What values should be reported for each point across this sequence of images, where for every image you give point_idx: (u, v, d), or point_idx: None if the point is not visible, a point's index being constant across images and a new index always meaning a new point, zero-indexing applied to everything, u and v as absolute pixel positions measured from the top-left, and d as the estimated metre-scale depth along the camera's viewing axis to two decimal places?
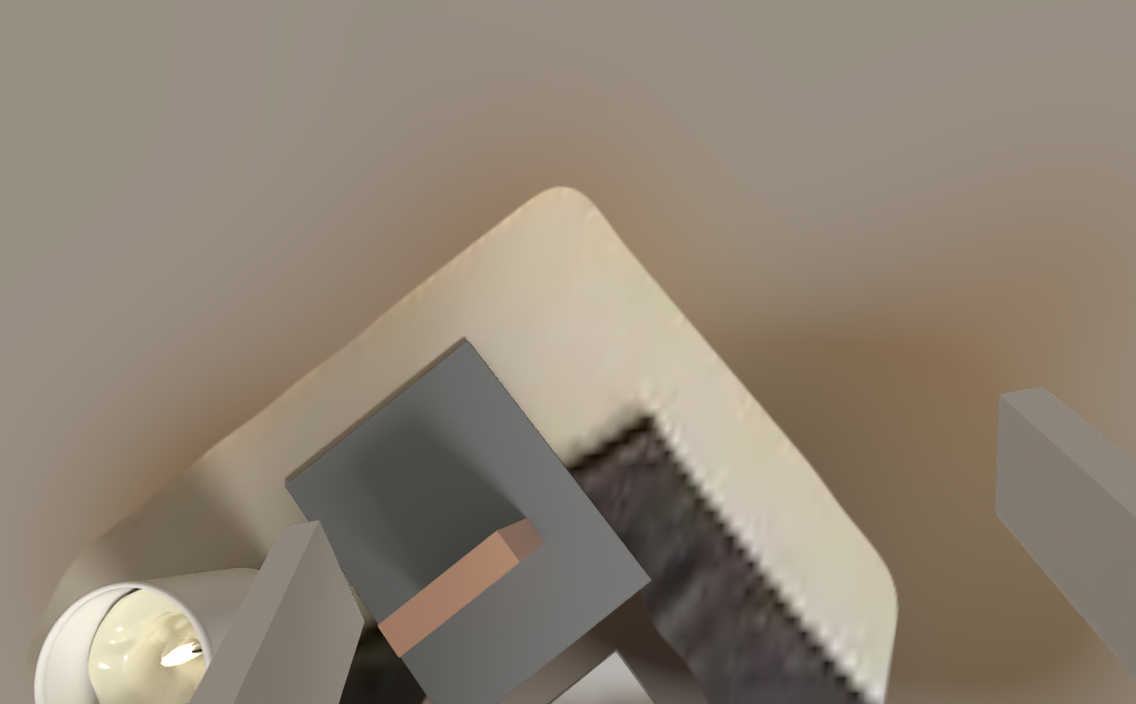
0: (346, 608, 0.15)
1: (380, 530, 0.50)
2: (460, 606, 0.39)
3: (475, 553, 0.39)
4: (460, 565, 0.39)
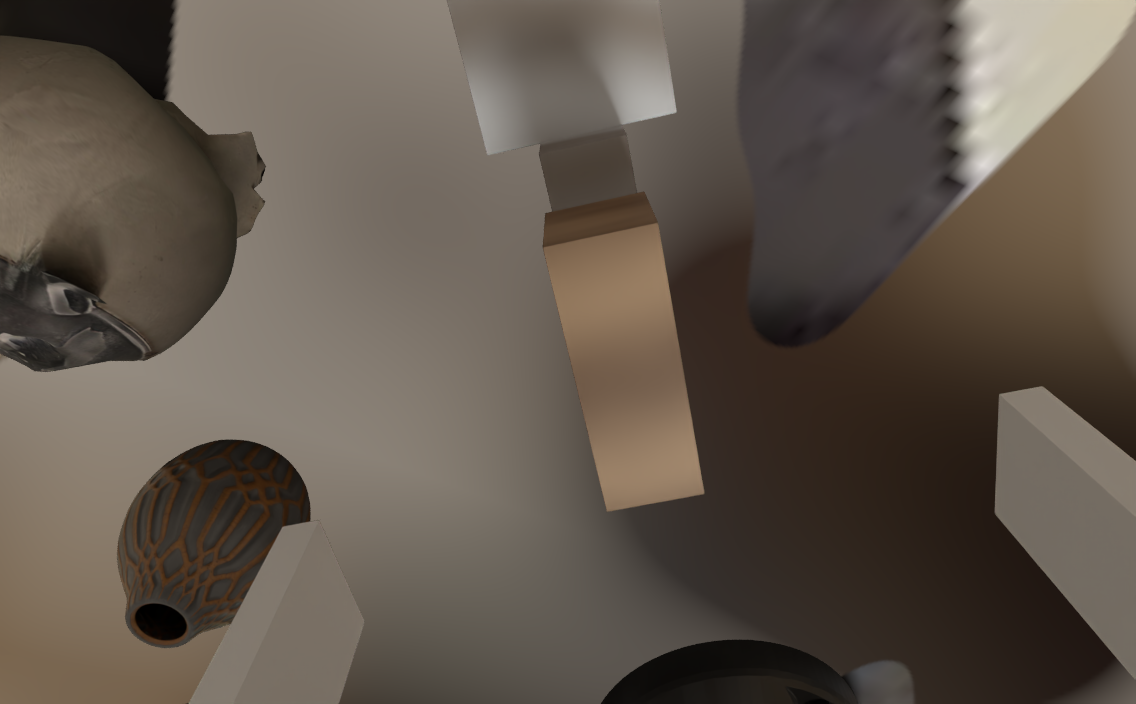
0: (346, 608, 0.15)
1: None
2: None
3: None
4: None
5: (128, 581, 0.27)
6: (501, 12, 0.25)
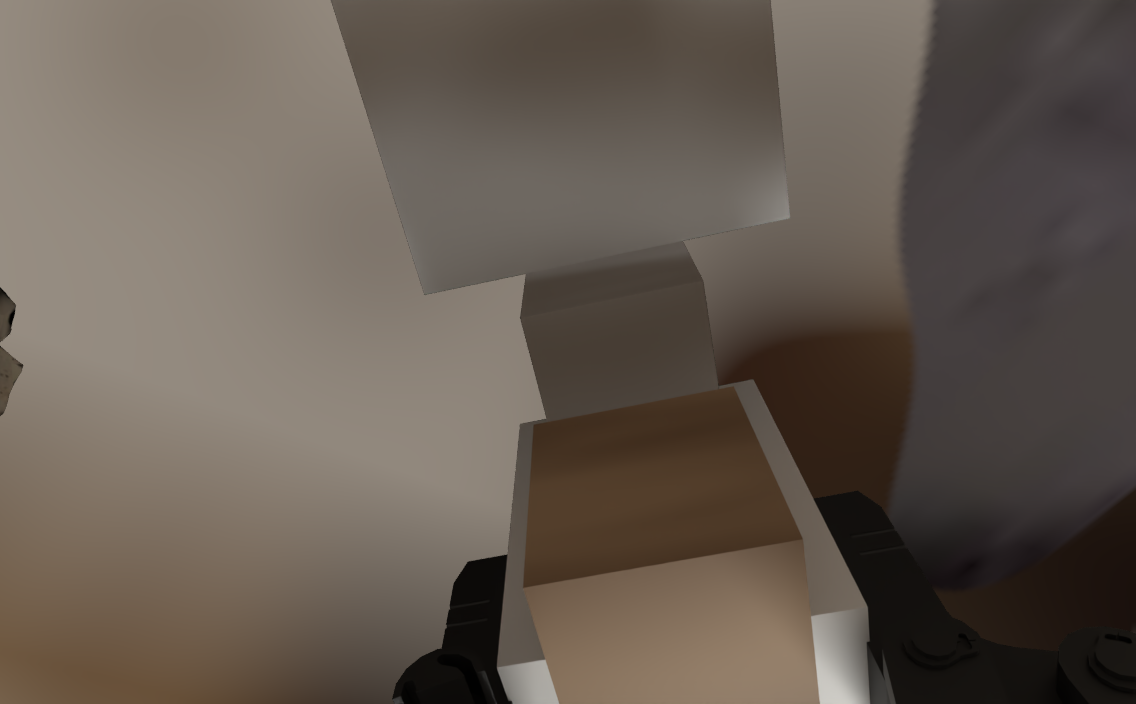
0: None
1: None
2: None
3: None
4: None
5: None
6: (444, 23, 0.12)
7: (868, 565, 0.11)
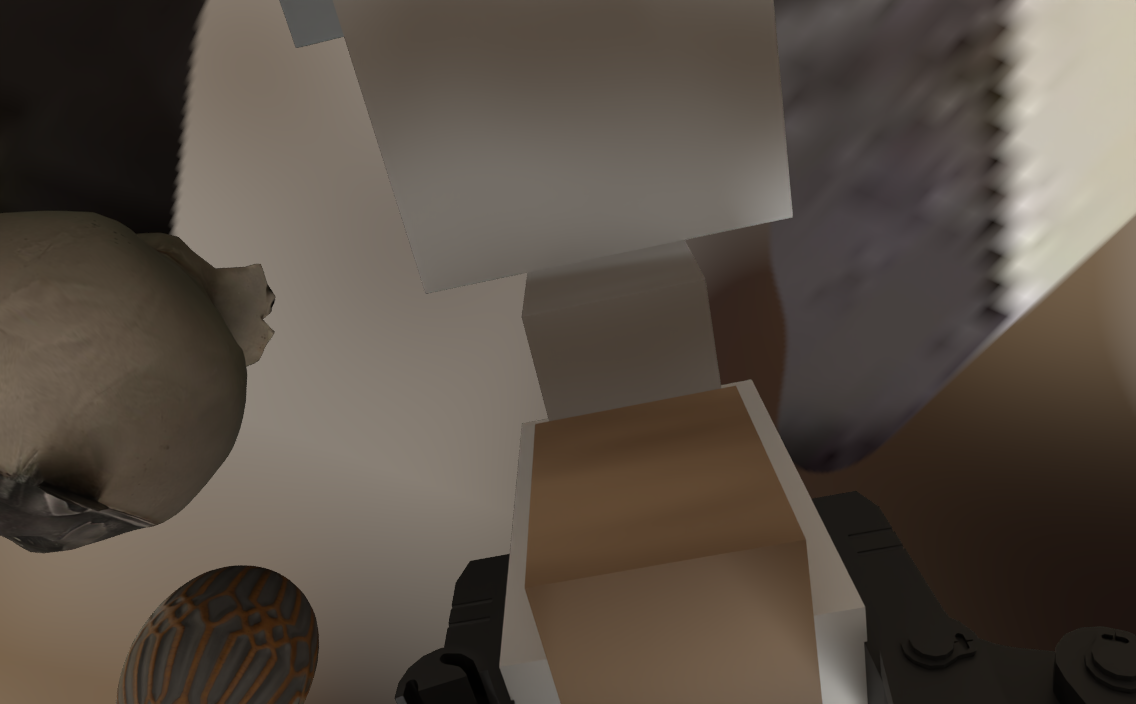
0: None
1: None
2: None
3: None
4: None
5: None
6: (445, 21, 0.12)
7: (867, 565, 0.11)
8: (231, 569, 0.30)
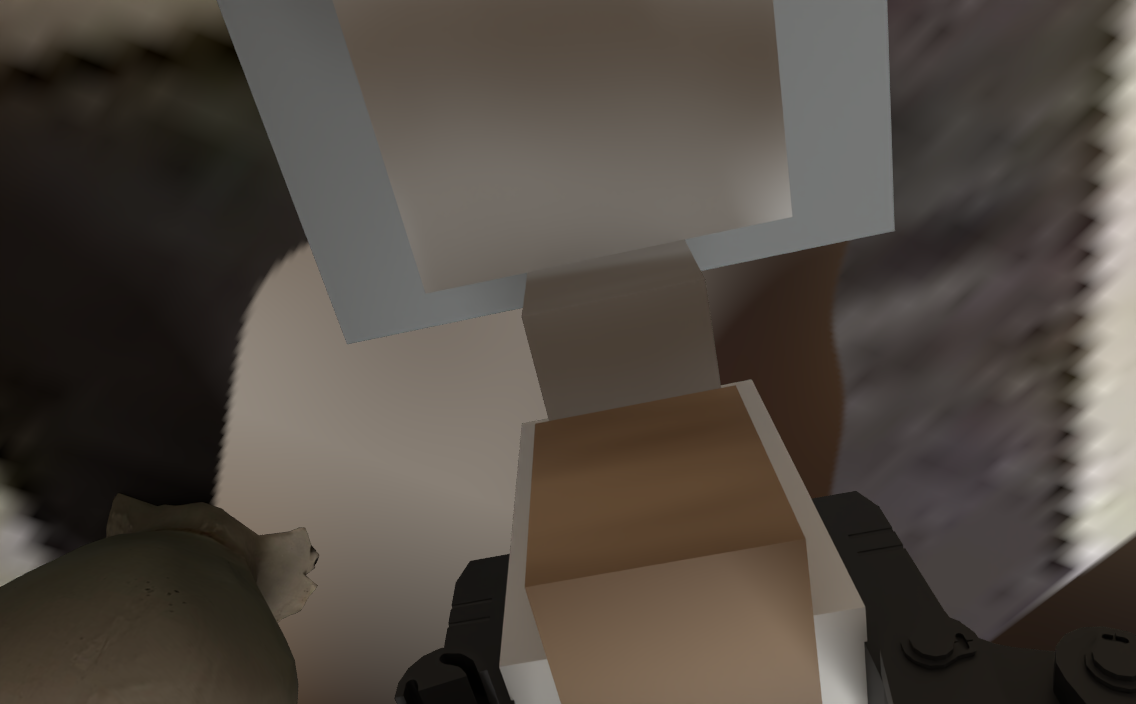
0: None
1: None
2: None
3: None
4: None
5: None
6: (445, 21, 0.12)
7: (867, 565, 0.11)
8: None
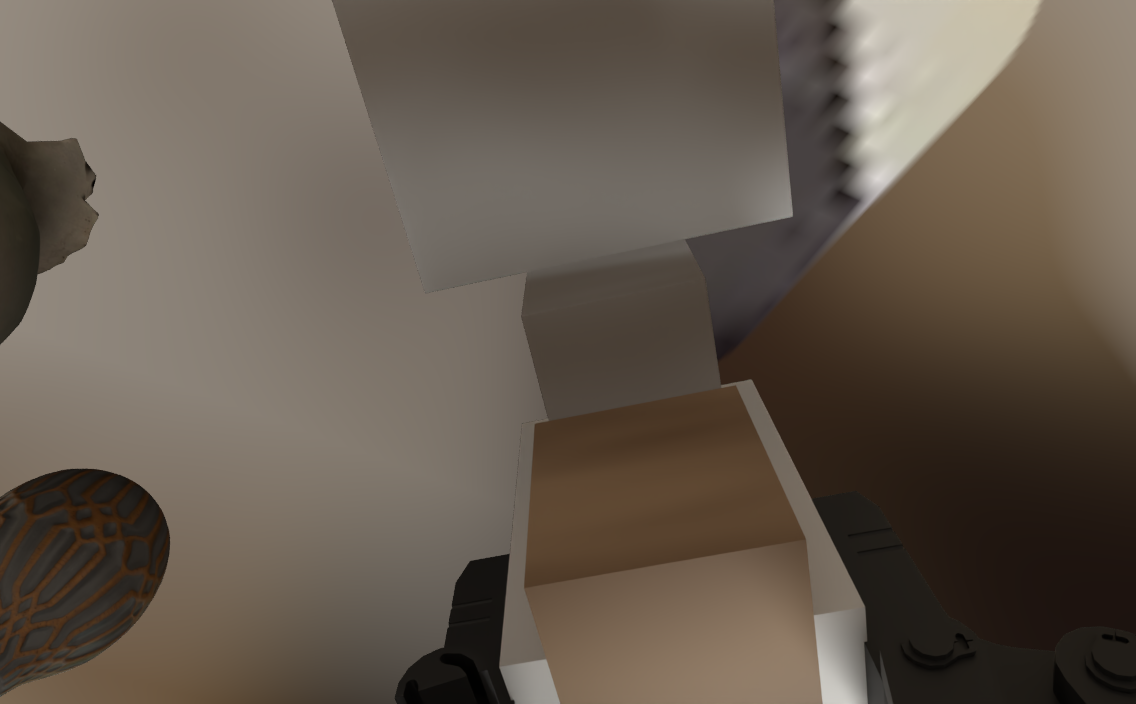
0: None
1: None
2: None
3: None
4: None
5: None
6: (444, 20, 0.12)
7: (867, 565, 0.11)
8: (72, 470, 0.29)
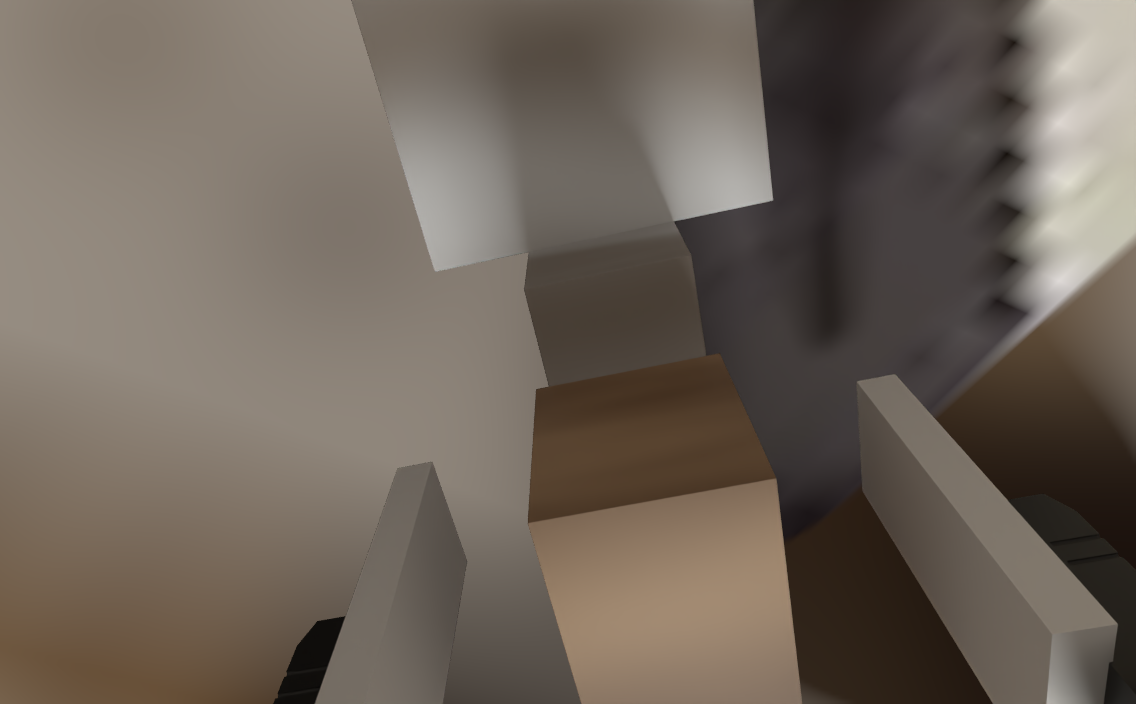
0: (454, 545, 0.16)
1: None
2: None
3: None
4: None
5: None
6: (454, 20, 0.13)
7: (1084, 576, 0.10)
8: None
